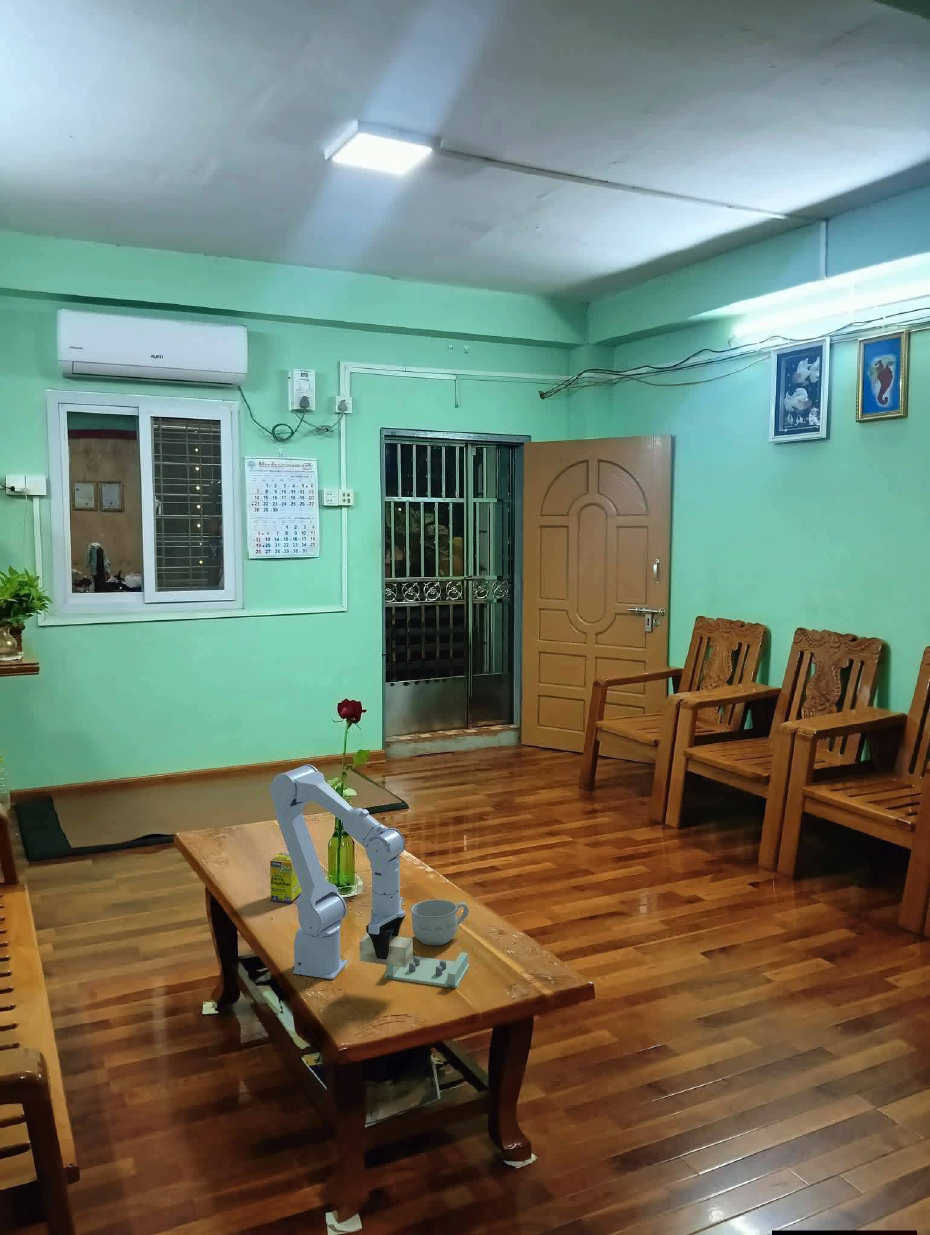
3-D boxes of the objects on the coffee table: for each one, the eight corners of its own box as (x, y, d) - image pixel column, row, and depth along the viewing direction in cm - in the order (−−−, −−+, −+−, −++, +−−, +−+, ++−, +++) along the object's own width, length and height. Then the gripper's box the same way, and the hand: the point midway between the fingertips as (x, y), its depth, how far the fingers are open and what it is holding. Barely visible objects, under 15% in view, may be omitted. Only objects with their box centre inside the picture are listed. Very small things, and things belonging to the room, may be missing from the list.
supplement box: (270, 902, 238) (269, 860, 236) (280, 892, 243) (279, 852, 242) (292, 904, 236) (291, 862, 235) (301, 895, 242) (300, 854, 241)
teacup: (416, 953, 210) (416, 918, 209) (406, 932, 220) (406, 899, 219) (476, 945, 214) (476, 912, 213) (463, 925, 224) (463, 893, 223)
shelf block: (359, 961, 193) (359, 941, 192) (367, 951, 197) (367, 932, 196) (405, 967, 190) (405, 947, 190) (412, 957, 194) (412, 938, 194)
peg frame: (384, 977, 198) (384, 964, 198) (400, 956, 208) (400, 943, 208) (456, 988, 194) (456, 974, 194) (469, 966, 204) (469, 953, 203)
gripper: (391, 905, 184) (392, 971, 185) (415, 878, 198) (415, 940, 199) (358, 901, 186) (359, 966, 187) (384, 874, 200) (384, 935, 201)
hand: (386, 952), depth 193 cm, fingers closed on shelf block, 4 cm apart
